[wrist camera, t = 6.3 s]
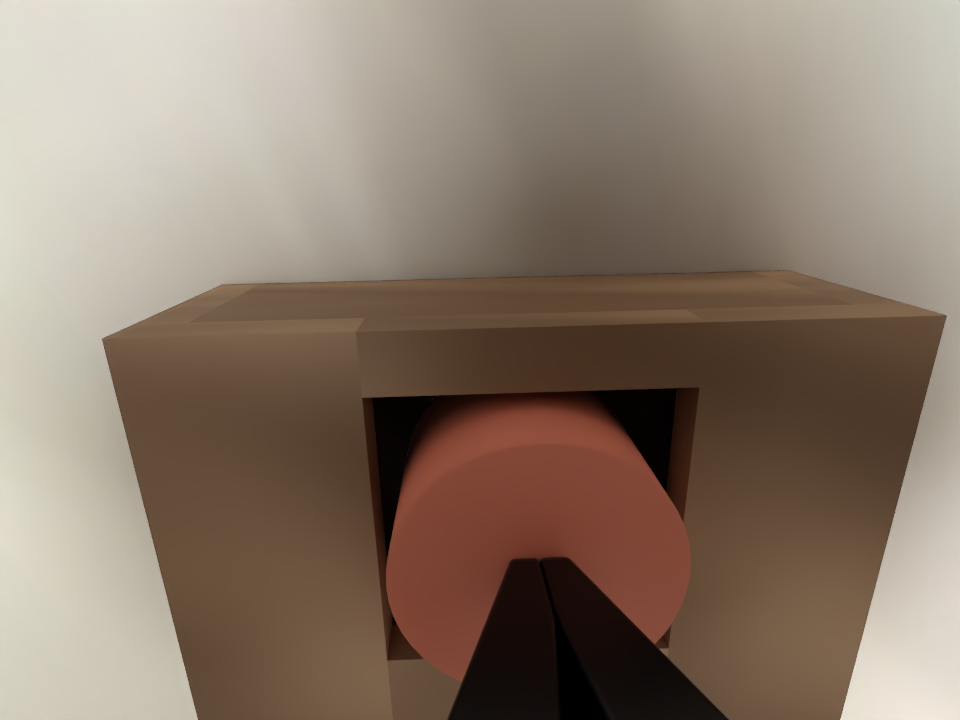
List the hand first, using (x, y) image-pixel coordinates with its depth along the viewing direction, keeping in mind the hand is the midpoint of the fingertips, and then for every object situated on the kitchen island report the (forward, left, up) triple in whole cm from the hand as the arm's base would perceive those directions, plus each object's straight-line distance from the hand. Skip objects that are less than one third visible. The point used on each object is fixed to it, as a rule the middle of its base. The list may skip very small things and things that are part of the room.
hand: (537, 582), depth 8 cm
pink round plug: (0, 0, -3) cm, 3 cm away
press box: (-5, 0, -5) cm, 7 cm away
